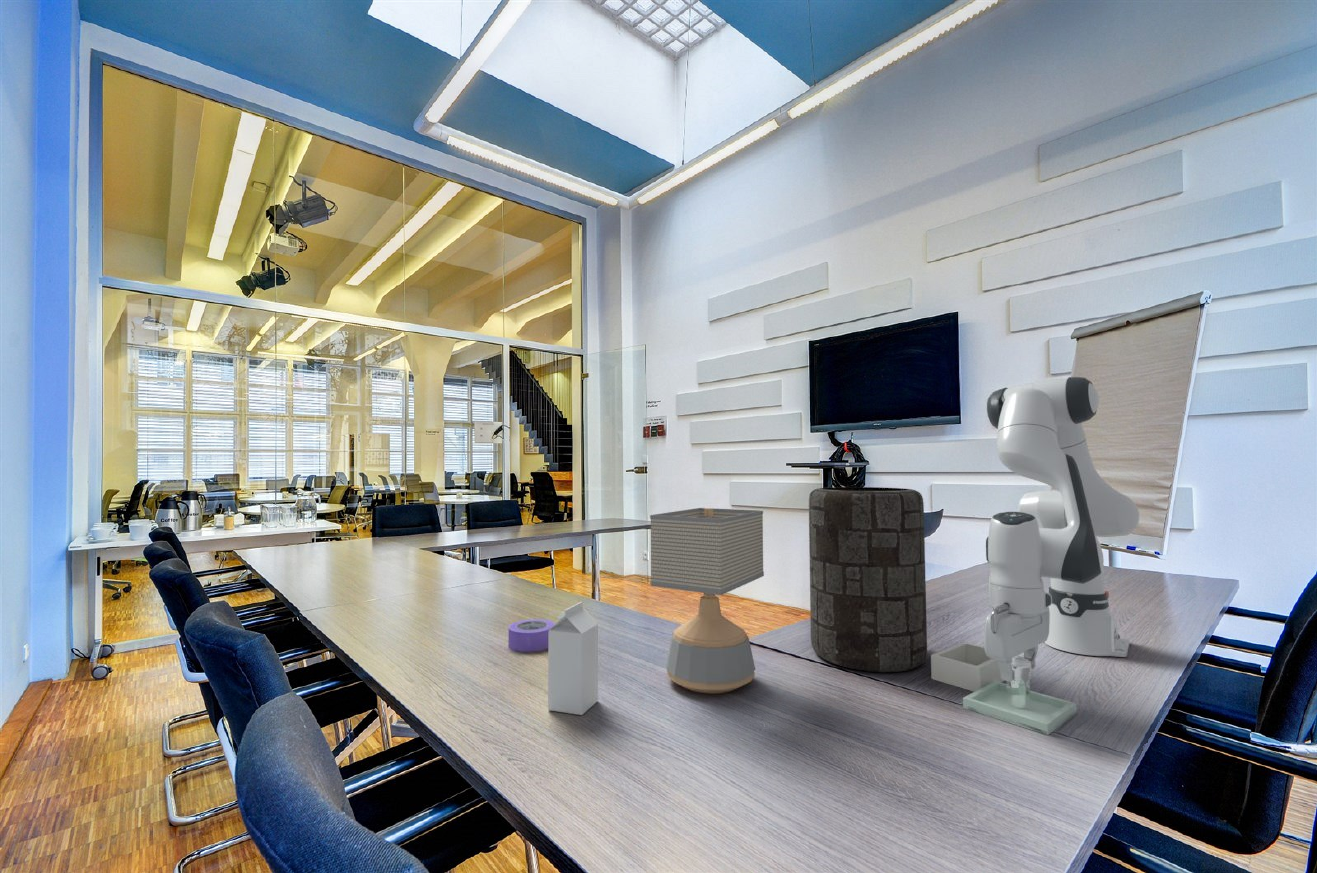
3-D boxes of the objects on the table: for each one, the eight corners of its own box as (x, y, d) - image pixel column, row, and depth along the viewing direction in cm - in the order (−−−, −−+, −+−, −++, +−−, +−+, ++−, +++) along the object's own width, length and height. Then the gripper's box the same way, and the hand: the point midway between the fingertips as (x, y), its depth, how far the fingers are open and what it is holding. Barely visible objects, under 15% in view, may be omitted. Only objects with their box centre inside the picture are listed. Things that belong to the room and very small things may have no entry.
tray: (995, 689, 118) (995, 680, 118) (1076, 713, 106) (1076, 703, 107) (963, 707, 109) (962, 698, 109) (1047, 735, 98) (1047, 724, 98)
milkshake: (1042, 712, 106) (1040, 656, 106) (1010, 709, 107) (1008, 654, 107) (1031, 701, 110) (1029, 648, 111) (1000, 699, 111) (999, 647, 112)
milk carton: (598, 701, 113) (598, 603, 114) (581, 716, 106) (582, 612, 107) (565, 696, 115) (566, 600, 116) (547, 711, 108) (548, 608, 109)
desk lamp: (729, 710, 108) (727, 514, 110) (644, 689, 118) (644, 510, 120) (771, 674, 127) (769, 506, 128) (695, 659, 137) (694, 503, 138)
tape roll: (549, 652, 142) (549, 632, 143) (502, 652, 143) (502, 632, 143) (558, 638, 154) (558, 619, 154) (515, 638, 154) (515, 619, 155)
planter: (950, 660, 135) (945, 489, 137) (882, 685, 120) (878, 493, 122) (855, 633, 157) (853, 485, 159) (788, 651, 142) (786, 488, 144)
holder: (964, 663, 133) (964, 641, 133) (1012, 676, 125) (1011, 653, 125) (931, 679, 124) (930, 655, 124) (980, 693, 116) (979, 668, 116)
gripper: (1011, 612, 100) (1013, 693, 99) (1055, 594, 112) (1058, 666, 112) (973, 605, 105) (975, 682, 104) (1019, 589, 117) (1022, 658, 117)
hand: (1018, 674), depth 108 cm, fingers open, 8 cm apart
